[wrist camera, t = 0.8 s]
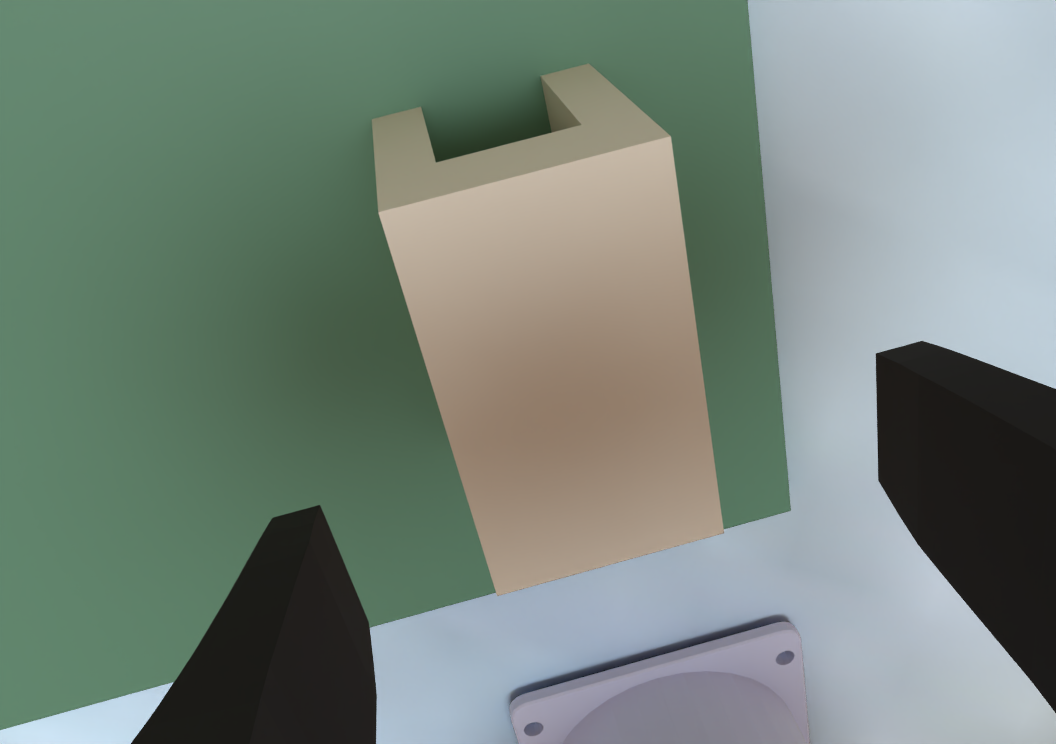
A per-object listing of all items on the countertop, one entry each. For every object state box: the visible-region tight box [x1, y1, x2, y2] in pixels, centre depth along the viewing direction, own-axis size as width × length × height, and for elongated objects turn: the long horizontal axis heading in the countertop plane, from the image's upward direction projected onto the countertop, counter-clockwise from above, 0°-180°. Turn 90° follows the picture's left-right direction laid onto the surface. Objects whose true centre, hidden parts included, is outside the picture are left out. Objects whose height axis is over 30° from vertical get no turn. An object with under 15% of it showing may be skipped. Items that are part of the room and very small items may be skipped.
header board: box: [0, 0, 791, 730], centre depth 16 cm, size 20×24×3 cm
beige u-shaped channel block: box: [372, 64, 724, 596], centre depth 16 cm, size 7×4×5 cm, turn 12°
